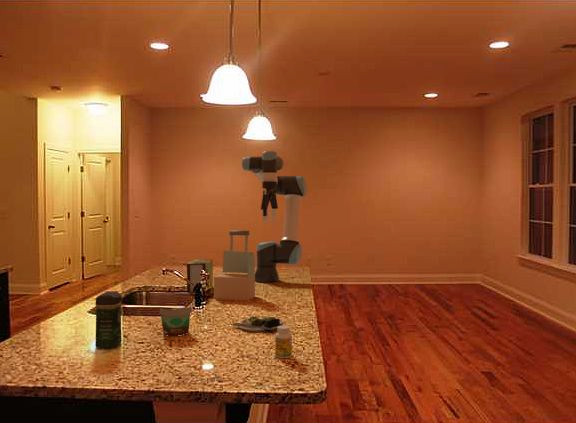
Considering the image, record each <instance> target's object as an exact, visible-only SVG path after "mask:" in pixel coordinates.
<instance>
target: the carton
mask: <svg viewBox="0 0 576 423" xmlns="http://www.w3.org/2000/svg"><path fill="white" fill-rule="evenodd" d="M255 272H256V256H255V254H254V255H253V256H251V257H248V258H247V273H226V272H222V273H220V274H217V275H215V276H214V275H213V299H214V298H215V300H231V301H248V302H249V301H250V300H251V299H253V298H254V297H256V281H255Z"/></svg>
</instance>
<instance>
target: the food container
mask: <svg viewBox="0 0 576 423" xmlns="http://www.w3.org/2000/svg"><path fill="white" fill-rule="evenodd" d="M191 313H193V309H192V306H191V304H190V305H189V307H173V308H169V309H166V308H165V309H164V308H162V307H160V309H159V312H158V314H159V315H160V316H161V324H162V325H161V326H162V334H163V335H164V336H166V335H168V336H167V337H179V336H178V335H183V334H186V333H188V334H189V330H190V321H191V320H190V319H191ZM186 335H187V334H186ZM183 336H184V335H183Z"/></svg>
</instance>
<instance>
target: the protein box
mask: <svg viewBox="0 0 576 423" xmlns="http://www.w3.org/2000/svg"><path fill="white" fill-rule="evenodd" d="M213 267H214V260H213V259H193V260H191V261H189V262H187V263H186V280H187V279H188V280H189V281H190V282H191V283H192V284H196V283H198V282H201V277H200V270H204V271H207V272H209V275H210V287H211V289H212V288H214V269H213ZM192 284H189V283H188V282H187V281H186V292H187V293H194V292H193V285H192Z"/></svg>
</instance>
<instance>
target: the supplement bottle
mask: <svg viewBox="0 0 576 423" xmlns="http://www.w3.org/2000/svg"><path fill="white" fill-rule="evenodd" d="M292 337H293V335H292V333H291V332H290V326H289V325H282V326H278V327H277V331H276V333H275V335H274V340H275V342H274V343H275V344H274V346H275V347H274V351H275V354H274V355H275V357H276V358H277V357H278V359H281V358H286V359H290V358H291V357H292V356H293V338H292Z"/></svg>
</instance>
